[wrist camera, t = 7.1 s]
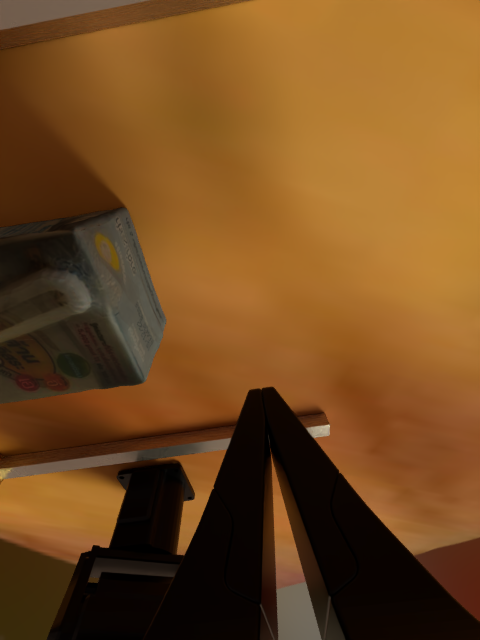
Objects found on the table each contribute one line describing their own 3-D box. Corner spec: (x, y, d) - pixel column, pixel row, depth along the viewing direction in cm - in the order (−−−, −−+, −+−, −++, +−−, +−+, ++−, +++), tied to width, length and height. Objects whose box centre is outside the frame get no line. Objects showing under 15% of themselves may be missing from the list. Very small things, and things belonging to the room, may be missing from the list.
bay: (324, 423, 23) (336, 455, 20) (1, 467, 24) (-26, 502, 22) (342, -82, 9) (390, -189, 6) (-440, 78, 10) (-673, 45, 7)
